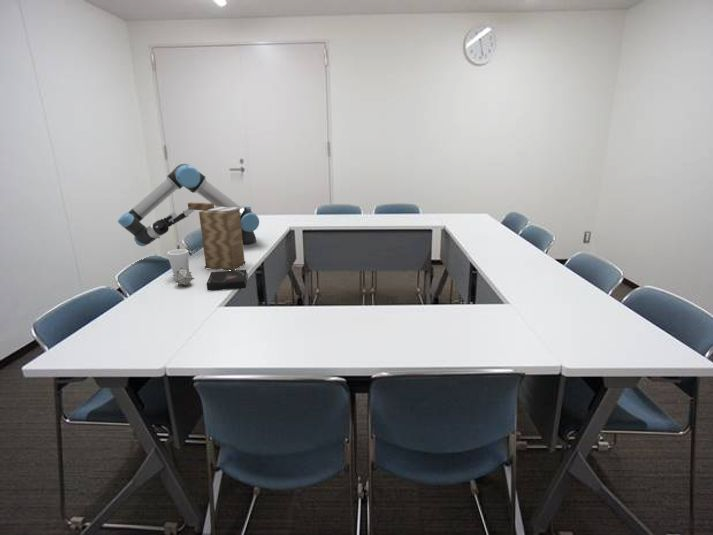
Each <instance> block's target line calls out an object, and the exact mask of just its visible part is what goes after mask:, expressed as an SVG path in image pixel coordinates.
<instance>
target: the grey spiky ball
mask: <svg viewBox="0 0 713 535" xmlns="http://www.w3.org/2000/svg"><path fill="white" fill-rule="evenodd" d="M177 272H178V271H177ZM172 277H174V279H175V283H176V284H177V286H180V285H182V286H185V287H186V288H187V285H189V284H190V282H191V281H192V280H195V278H194V277H193V275H192V271H191V272H190V268H189V269H188V270H183V269H182V268H181V270H180V271H179V272H178V273H177V274H176V275H175V276H174V274H173V275H172Z"/></svg>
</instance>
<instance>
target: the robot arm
mask: <svg viewBox="0 0 713 535" xmlns="http://www.w3.org/2000/svg"><path fill="white" fill-rule="evenodd" d="M183 187H184V188H185V189H187V190H188V191H190V192H191V193H192V194H195V193H196V194H198V195H199V196H201V197H202V198H204V199H205V200H206V201H208V203H214V207H237V208H239V209H240V218H241V229H242V240H243V246H244V245H252V244H255V243H256V242H257V236H256V234H255V232H254V231H256V230H257V229H258V227H259V226H260V219H259V217H258V215H257V214H256V213H255V212H252V208H251V206H244V205H241V206H240V204H237V203H236V202H235V201H234V200H233V199H232V198H230V197H228V196H227V195H226V194H225V193H223V192H222V191H221V190H220V189H218V188H216V187H215V186H214V185H212V183H211V182H209V181H207V178H206V176H205V175H204V174H203V173H201V172H200V171H199V170H198V169H197V168H195V167H194V166H192V165H190V164H187V163H181V164H178V165H177V166H175V168H174V169H173V170H172V171H171V172H170V173H169V174H168V175H166V179H165V180H164V181H163V182H161V183H160V184H159V185H158V186H157V187H155V188H154V189H153V190H152V191H151V192H150V193H149V194H148V195H146V196H145V197H144V198H143V199H142V200H140V201H139V202H138V203H137V204H136V205H134V207H132V208H131V209H130V210H129V211H128V212H125V213H124V214H122V215H121V216H120V217H119V218H118V220H117V223H118V224H119V225H121V227H122V228H124V229H125V230H126V231H128V232H129V233H130V234H131V235H133V236H134V238H133V240H134V242H135V243H136V245H138V246H140V247H145V246H147V245H149V244H151V243H152V242H154V241H156V240H157V239H160V237H162V236H163V235H164V234H166V233H168V232H169V229H170V227H171V226H172V225H173V226H174V225H175V224H176V223H178V222H180V221H181V220H184V219H185V218H187V217H189V215H191V214H192V213H194V212H195V211H196V210H189V209H188V208H187V209H186V210H183V211H182V212H181V213H180V214H179V213H178V212H177V211H176V210H175V211H173V212H172V213H170V214H168V215H167V216H166V217H164V218H161V219H158V220H156V221H155V222H152V224H150V225H149V226H147V227H146V226H145V225H144V224H143V223H142V222H141V221H142V220H144V218H146V216H148V215H149V214H150V213H151V212H153V210H155V209H156V208H157V207H158V206H160V205H161V204H162V203H163V202H164V201H165V200H167V199H168V198H169V197H170V196H171V195H173V193H175V192H176V191H177V190H181V189H182V188H183Z"/></svg>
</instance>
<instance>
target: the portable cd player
mask: <svg viewBox="0 0 713 535" xmlns="http://www.w3.org/2000/svg"><path fill="white" fill-rule="evenodd" d="M247 271H248V270H247V269H236V270H231V271H229V270H219V271H217V270H216V271H210V274H209V276H208V279H207V281H206V290H212V291H223V289H226V290H239V289H240V290H241V289H246V287H247V284H248V272H247Z"/></svg>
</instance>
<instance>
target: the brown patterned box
mask: <svg viewBox="0 0 713 535" xmlns="http://www.w3.org/2000/svg"><path fill="white" fill-rule="evenodd" d="M198 216H199V221H200V223H199V224H200V230H201V231H200V232H201V239H202V240H201V241H202V246H203V248H202V249H203V255H204V264H205V265H204V269H206V268H211V269H210V270H218V269H223V270H222V271H229V270H235V269H236V270H238V269H240V268H241V267H242V266H244V265H245V263H247V262H246V261H245V253H244V245H243V240H242V229H241V218H240V209H239V210H236V211H233V212H230V213H218V212H207V210H199V212H198ZM243 264H244V265H243ZM240 266H241V267H240ZM237 268H238V269H237Z"/></svg>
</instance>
